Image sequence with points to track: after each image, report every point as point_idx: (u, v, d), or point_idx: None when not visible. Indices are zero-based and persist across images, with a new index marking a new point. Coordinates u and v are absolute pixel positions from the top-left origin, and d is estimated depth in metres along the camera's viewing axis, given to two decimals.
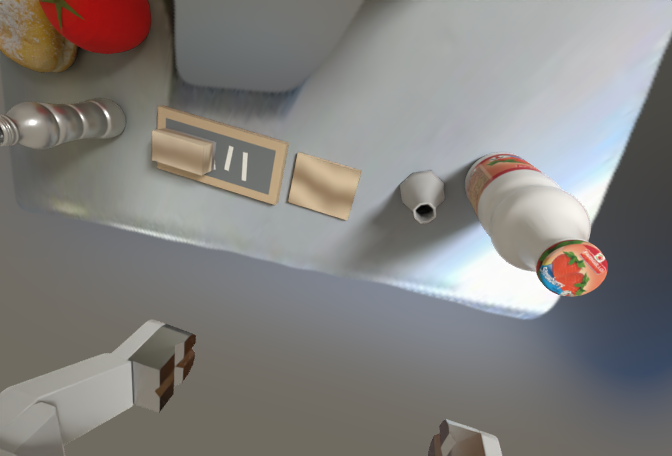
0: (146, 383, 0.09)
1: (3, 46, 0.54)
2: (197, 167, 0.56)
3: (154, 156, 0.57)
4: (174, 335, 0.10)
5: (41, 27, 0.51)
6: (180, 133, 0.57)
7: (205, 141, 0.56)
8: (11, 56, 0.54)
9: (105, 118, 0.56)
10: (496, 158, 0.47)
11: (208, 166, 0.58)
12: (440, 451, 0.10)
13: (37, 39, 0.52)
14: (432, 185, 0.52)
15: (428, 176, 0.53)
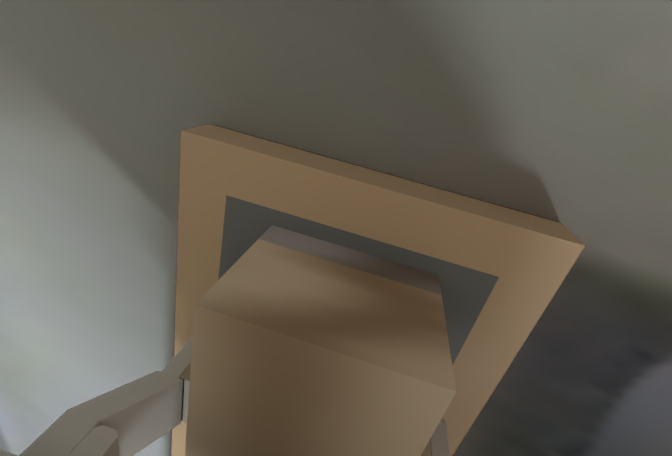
0: None
1: None
2: None
3: (225, 329, 0.06)
4: None
5: None
6: None
7: None
8: None
9: None
10: None
11: None
12: None
13: None
14: None
15: None
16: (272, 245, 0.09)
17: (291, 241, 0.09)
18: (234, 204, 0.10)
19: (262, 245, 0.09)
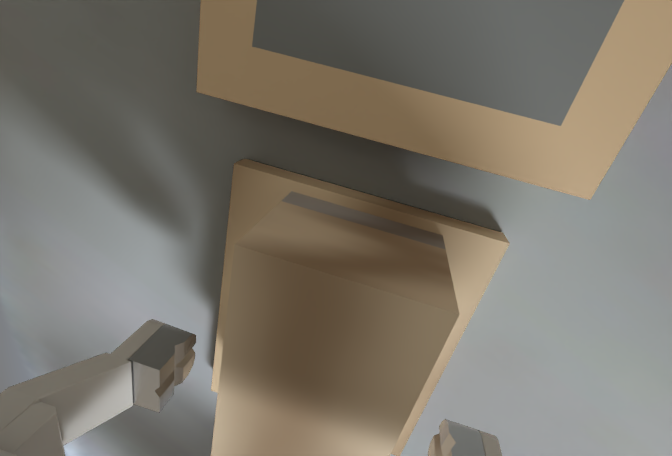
0: (146, 383, 0.09)
1: None
2: None
3: (261, 266, 0.08)
4: (174, 335, 0.10)
5: None
6: None
7: None
8: None
9: None
10: None
11: None
12: (440, 451, 0.10)
13: None
14: None
15: None
16: (293, 207, 0.10)
17: (310, 203, 0.10)
18: None
19: (285, 205, 0.10)
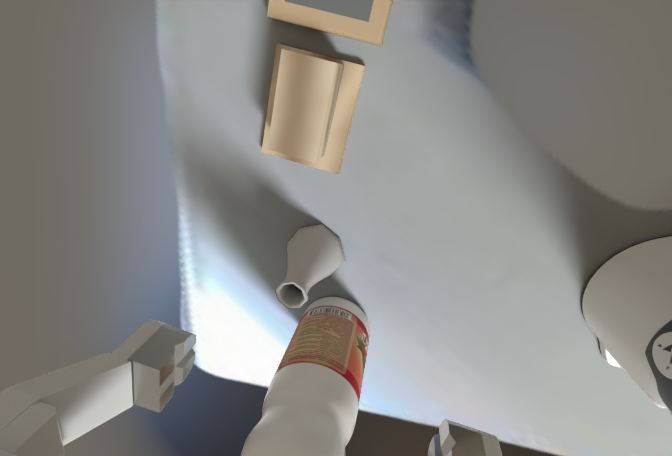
0: (146, 383, 0.09)
1: None
2: (279, 144, 0.33)
3: (288, 54, 0.30)
4: (174, 335, 0.10)
5: None
6: (334, 97, 0.33)
7: (323, 147, 0.35)
8: None
9: None
10: (364, 340, 0.41)
11: None
12: (440, 451, 0.10)
13: None
14: (326, 273, 0.40)
15: (338, 262, 0.41)
16: None
17: None
18: None
19: None
